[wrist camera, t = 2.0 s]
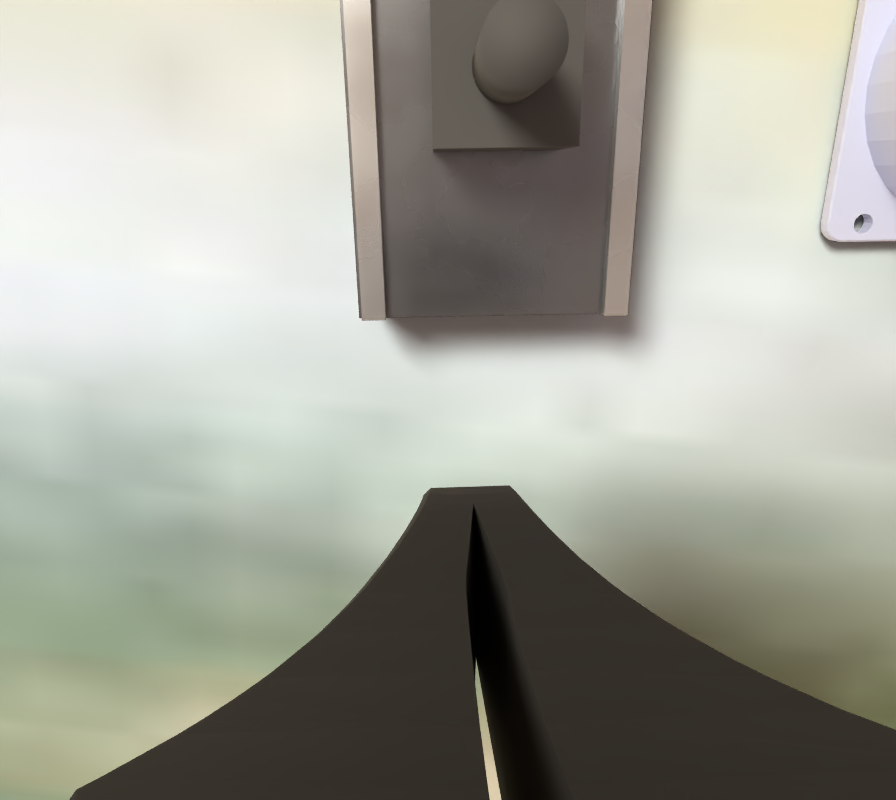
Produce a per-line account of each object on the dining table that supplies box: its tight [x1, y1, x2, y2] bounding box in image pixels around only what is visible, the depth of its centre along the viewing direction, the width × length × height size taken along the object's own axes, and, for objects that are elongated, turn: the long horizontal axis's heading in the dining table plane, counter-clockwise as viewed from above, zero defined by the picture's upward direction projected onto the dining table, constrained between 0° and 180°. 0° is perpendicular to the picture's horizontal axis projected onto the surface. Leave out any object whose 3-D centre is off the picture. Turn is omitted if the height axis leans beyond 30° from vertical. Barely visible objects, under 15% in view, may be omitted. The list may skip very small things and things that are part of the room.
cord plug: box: [430, 0, 586, 152], centre depth 13 cm, size 3×3×5 cm
